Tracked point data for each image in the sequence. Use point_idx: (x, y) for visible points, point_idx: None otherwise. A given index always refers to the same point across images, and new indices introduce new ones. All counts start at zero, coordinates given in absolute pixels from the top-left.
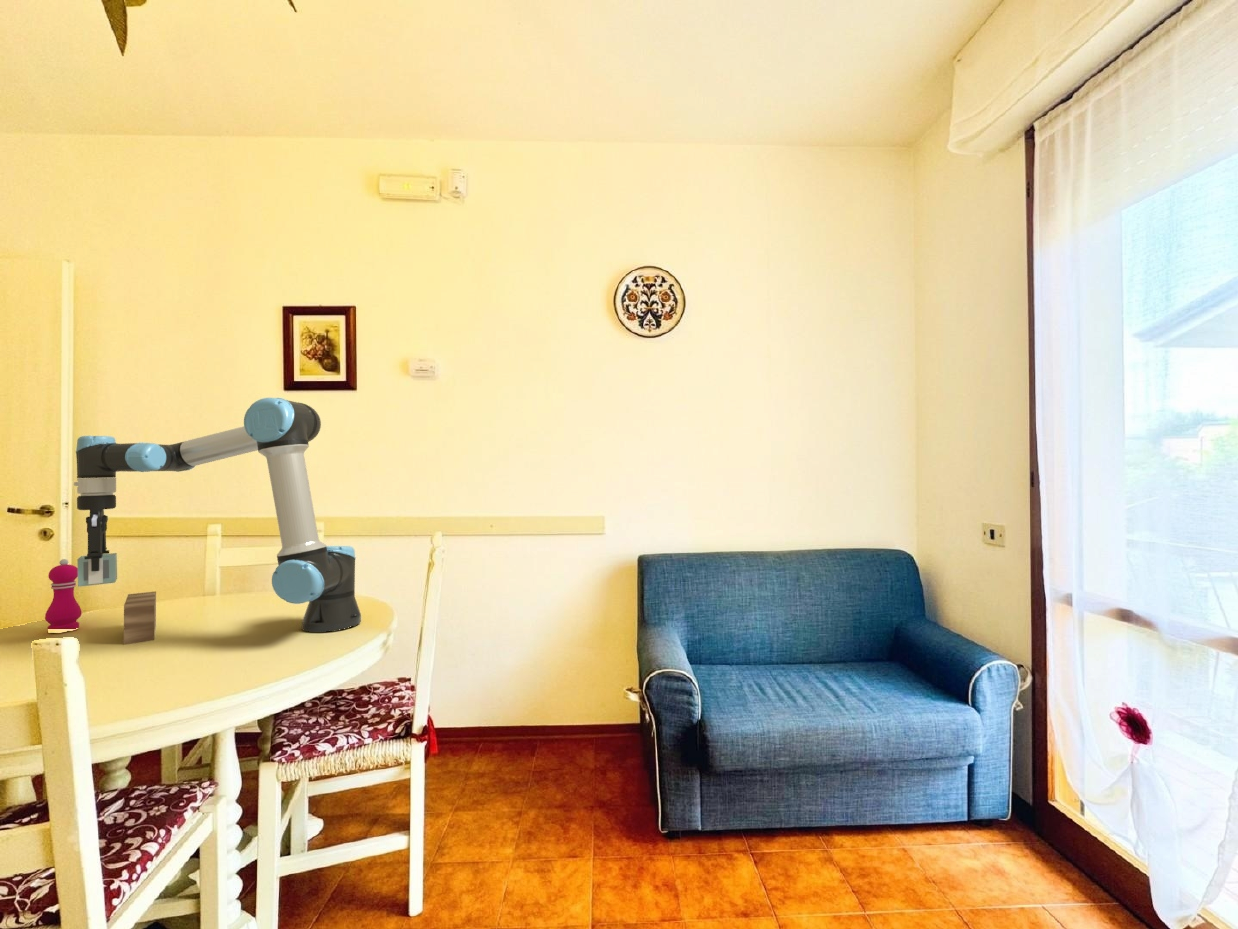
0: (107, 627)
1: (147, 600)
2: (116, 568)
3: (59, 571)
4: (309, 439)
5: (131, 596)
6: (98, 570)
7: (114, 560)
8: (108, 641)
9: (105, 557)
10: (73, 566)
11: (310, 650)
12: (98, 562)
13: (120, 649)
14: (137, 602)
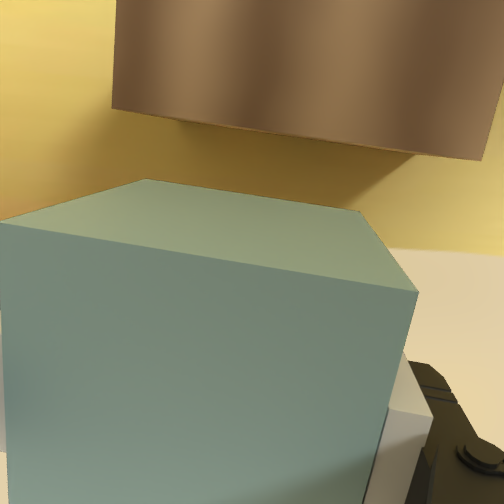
0: (75, 174)
1: (425, 31)
2: (158, 199)
3: None
4: None
5: (199, 99)
6: (430, 370)
7: (398, 269)
8: (316, 191)
9: (389, 382)
10: None
11: None
12: (469, 427)
13: (485, 169)
14: (444, 89)
